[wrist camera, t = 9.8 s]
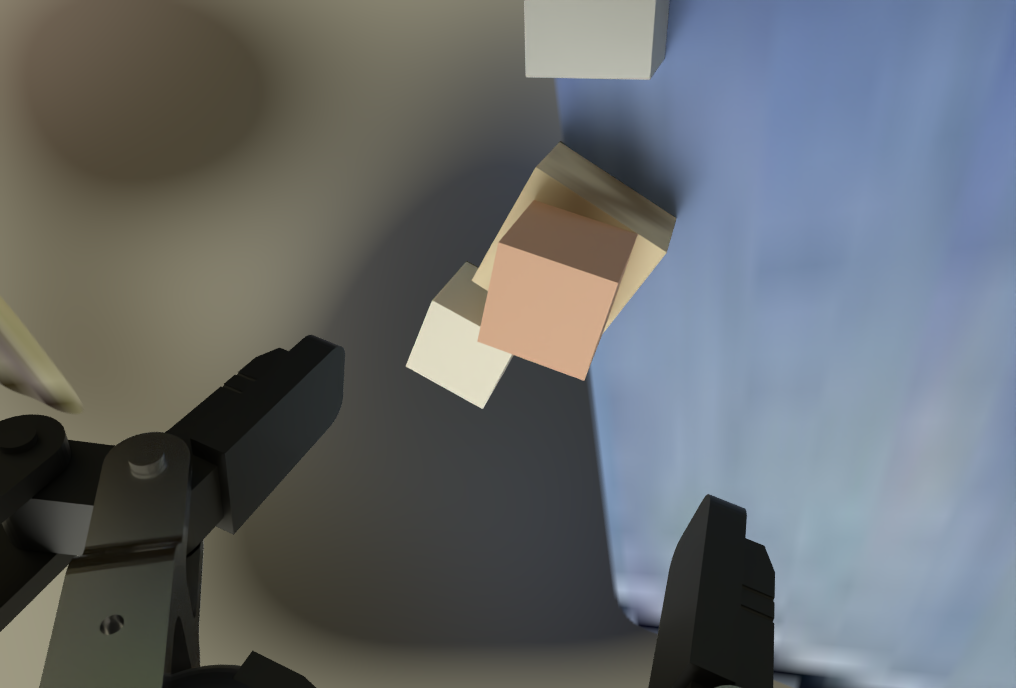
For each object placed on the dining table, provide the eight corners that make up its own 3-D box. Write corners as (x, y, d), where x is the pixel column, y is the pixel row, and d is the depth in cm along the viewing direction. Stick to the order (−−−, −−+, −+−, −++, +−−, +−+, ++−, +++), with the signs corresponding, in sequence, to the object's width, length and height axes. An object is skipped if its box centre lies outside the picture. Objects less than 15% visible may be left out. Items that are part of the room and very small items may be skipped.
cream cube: (542, 302, 38) (516, 346, 34) (509, 361, 41) (482, 409, 37) (466, 260, 38) (432, 300, 34) (440, 323, 41) (405, 366, 37)
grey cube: (676, -75, 26) (661, -75, 22) (665, 58, 29) (650, 79, 25) (556, -70, 28) (522, -69, 24) (556, 57, 30) (525, 77, 26)
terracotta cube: (638, 234, 29) (618, 283, 25) (606, 323, 32) (584, 380, 28) (533, 199, 30) (498, 242, 26) (512, 290, 33) (477, 341, 29)
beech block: (676, 216, 33) (666, 252, 29) (602, 313, 37) (586, 354, 33) (560, 140, 32) (535, 167, 29) (499, 245, 37) (471, 280, 33)
